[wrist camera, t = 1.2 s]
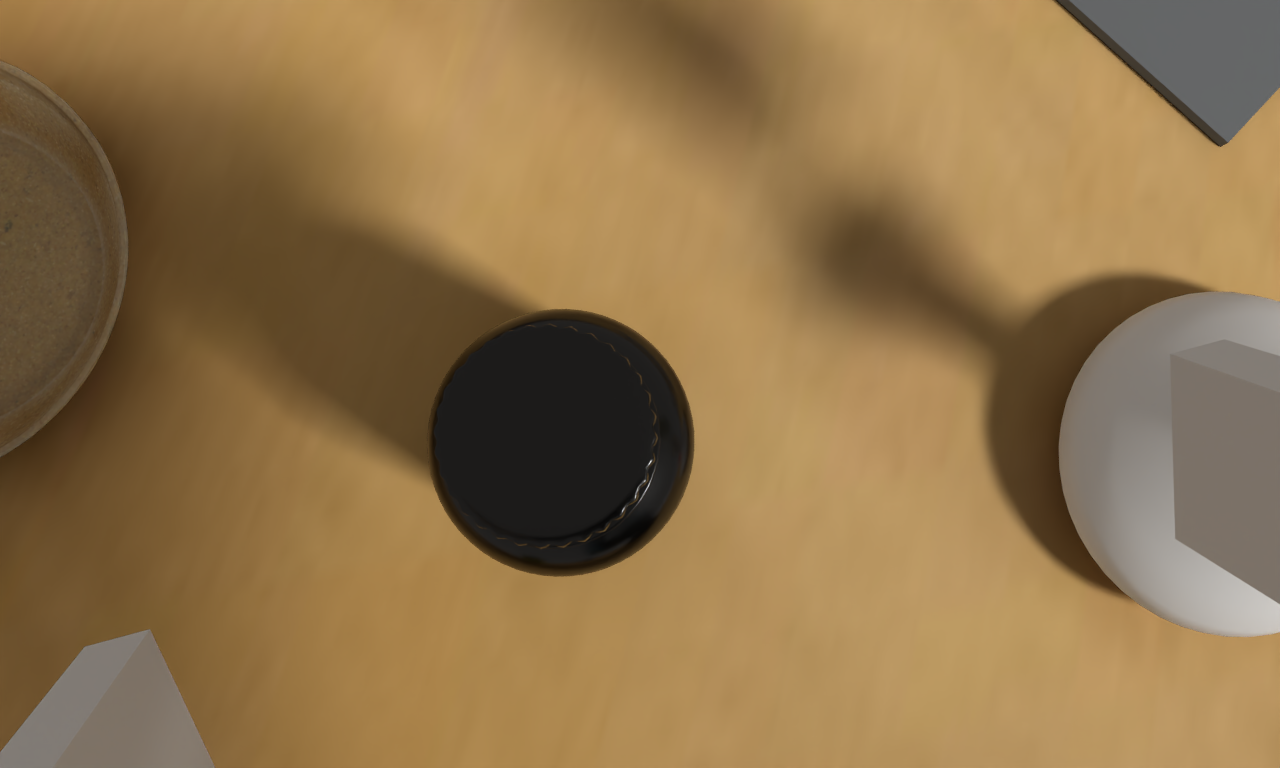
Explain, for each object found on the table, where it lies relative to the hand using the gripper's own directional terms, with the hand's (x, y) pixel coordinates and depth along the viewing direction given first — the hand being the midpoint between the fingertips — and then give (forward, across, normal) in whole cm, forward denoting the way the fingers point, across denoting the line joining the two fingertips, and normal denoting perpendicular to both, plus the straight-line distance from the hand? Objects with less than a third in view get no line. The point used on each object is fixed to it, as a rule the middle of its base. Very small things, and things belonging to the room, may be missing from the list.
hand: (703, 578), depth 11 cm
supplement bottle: (+19, +1, +5) cm, 19 cm away
